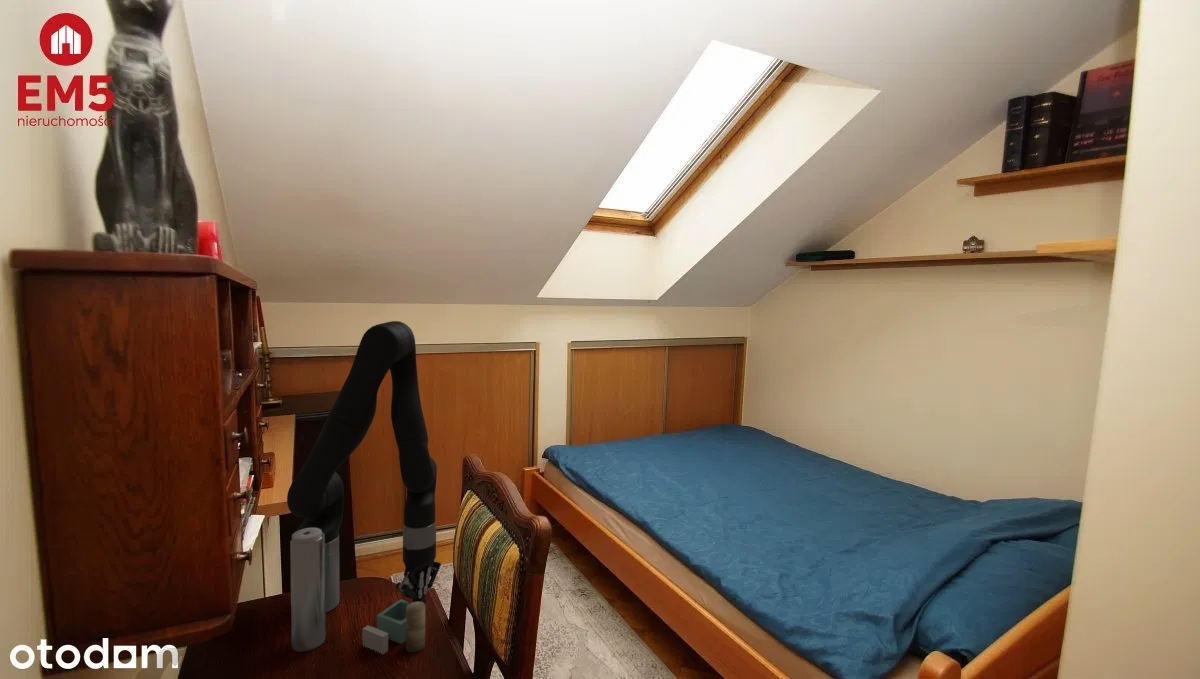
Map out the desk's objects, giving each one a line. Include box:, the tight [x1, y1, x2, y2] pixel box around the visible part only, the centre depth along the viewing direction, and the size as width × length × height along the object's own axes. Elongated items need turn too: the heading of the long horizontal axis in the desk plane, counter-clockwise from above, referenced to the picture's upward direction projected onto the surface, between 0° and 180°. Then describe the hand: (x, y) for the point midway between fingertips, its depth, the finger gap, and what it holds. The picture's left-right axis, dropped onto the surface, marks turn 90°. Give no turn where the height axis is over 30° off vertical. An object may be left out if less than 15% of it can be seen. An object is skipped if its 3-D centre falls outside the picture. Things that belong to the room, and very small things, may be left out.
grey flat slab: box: [362, 624, 389, 655], centre depth 112 cm, size 6×1×4 cm, turn 66°
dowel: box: [405, 601, 426, 653], centre depth 113 cm, size 4×4×9 cm
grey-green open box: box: [376, 598, 412, 645], centre depth 119 cm, size 7×7×4 cm
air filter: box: [289, 528, 326, 653], centre depth 113 cm, size 6×6×25 cm
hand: (418, 609), depth 124 cm, fingers closed
